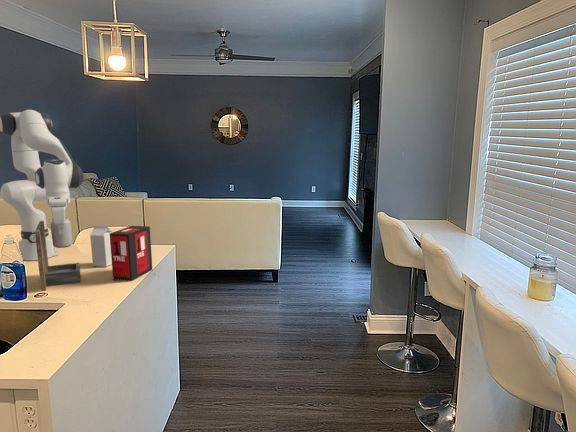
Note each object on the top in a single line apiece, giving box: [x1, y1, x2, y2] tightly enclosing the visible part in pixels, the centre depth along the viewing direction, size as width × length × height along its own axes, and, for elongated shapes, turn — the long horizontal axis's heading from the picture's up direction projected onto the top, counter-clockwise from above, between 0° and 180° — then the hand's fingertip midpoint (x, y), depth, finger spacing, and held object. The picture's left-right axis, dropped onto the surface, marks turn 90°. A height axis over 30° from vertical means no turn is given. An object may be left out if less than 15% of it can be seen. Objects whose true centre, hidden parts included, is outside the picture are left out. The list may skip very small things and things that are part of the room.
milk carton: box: [89, 224, 114, 268], centre depth 215 cm, size 7×7×19 cm
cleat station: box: [35, 221, 81, 292], centre depth 192 cm, size 24×14×24 cm, turn 24°
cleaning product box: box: [110, 225, 153, 282], centre depth 199 cm, size 16×9×20 cm, turn 166°
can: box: [50, 216, 73, 249], centre depth 191 cm, size 8×8×12 cm
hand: (61, 231), depth 191 cm, fingers closed on can, 7 cm apart
